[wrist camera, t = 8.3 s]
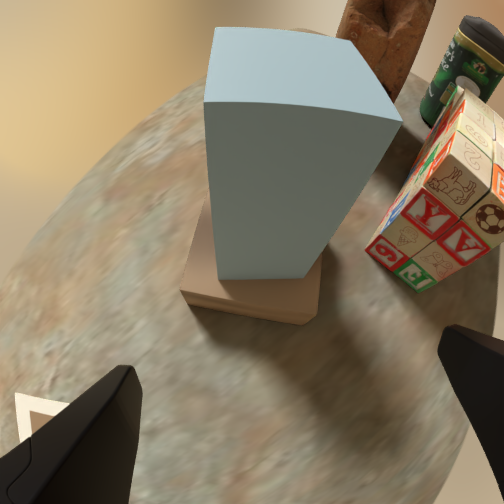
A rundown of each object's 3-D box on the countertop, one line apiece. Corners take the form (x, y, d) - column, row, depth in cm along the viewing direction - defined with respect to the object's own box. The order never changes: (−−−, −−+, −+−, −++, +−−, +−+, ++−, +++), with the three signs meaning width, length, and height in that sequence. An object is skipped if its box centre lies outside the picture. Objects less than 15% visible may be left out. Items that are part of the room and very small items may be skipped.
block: (338, 85, 32) (378, -46, 14) (389, 112, 31) (447, -16, 13) (302, 121, 28) (347, -57, 10) (366, 156, 27) (447, -17, 9)
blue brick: (303, 278, 17) (403, 121, 6) (217, 279, 17) (203, 102, 6) (294, 206, 19) (350, 40, 8) (218, 206, 19) (215, 27, 8)
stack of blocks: (425, 136, 30) (468, 65, 19) (462, 165, 29) (512, 101, 18) (362, 251, 22) (450, 149, 11) (418, 296, 21) (527, 226, 10)
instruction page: (105, 521, 12) (103, 522, 11) (34, 499, 11) (33, 499, 11) (84, 405, 16) (82, 405, 15) (16, 392, 15) (14, 392, 15)
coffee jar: (422, 94, 35) (466, 5, 18) (462, 123, 33) (513, 40, 16) (412, 117, 31) (468, 8, 14) (458, 151, 30) (525, 53, 13)
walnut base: (302, 325, 19) (316, 314, 16) (187, 304, 19) (179, 289, 16) (312, 225, 23) (325, 200, 20) (213, 206, 23) (211, 179, 20)
